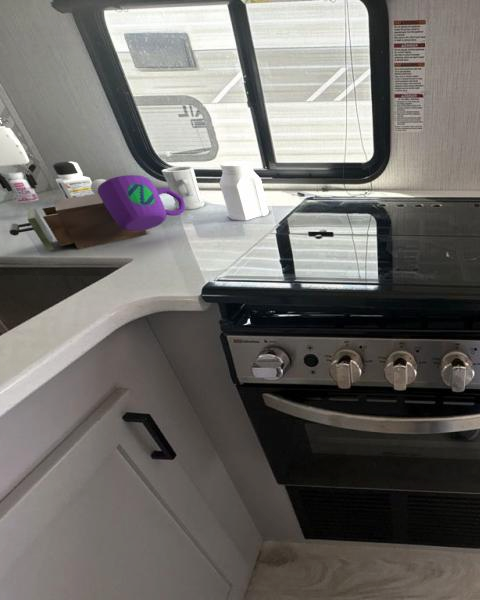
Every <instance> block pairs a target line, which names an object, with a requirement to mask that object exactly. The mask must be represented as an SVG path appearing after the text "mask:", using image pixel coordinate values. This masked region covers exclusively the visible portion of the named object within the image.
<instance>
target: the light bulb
mask: <svg viewBox="0 0 480 600" xmlns="http://www.w3.org/2000/svg"><path fill="white" fill-rule="evenodd" d="M107 180H108V179H105V178H104V179H103V178H99V179H95V180H93V181H92V184H91V190H92V192H93V193H94V194H98V187H99V186H100V185H101V184H102V183H103V182H105V181H107Z"/></svg>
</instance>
